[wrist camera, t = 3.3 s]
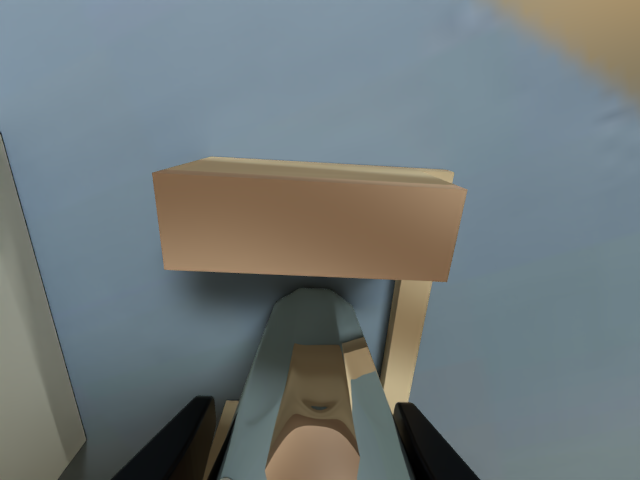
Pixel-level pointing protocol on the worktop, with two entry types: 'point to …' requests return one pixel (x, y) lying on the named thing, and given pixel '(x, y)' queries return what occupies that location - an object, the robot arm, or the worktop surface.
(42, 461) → the tray
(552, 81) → the worktop surface
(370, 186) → the wooden joined piece
